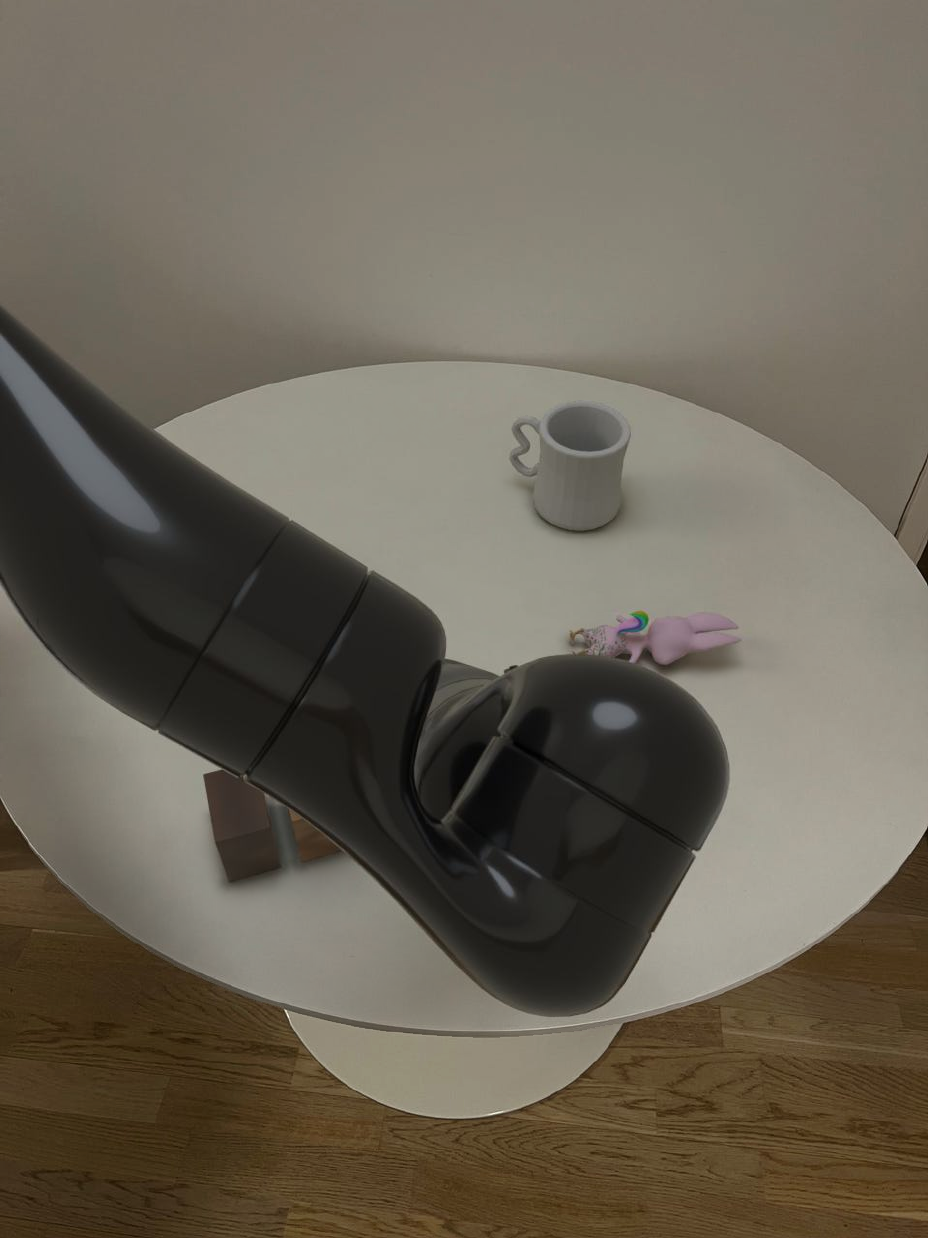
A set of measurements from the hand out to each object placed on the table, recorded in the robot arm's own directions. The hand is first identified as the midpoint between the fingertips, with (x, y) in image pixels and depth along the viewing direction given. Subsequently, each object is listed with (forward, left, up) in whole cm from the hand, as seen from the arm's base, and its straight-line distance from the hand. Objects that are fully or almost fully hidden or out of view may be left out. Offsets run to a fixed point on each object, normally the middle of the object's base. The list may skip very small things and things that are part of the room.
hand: (395, 705), depth 62 cm
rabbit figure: (+27, +13, -20) cm, 36 cm away
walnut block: (-11, +5, -20) cm, 23 cm away
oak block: (-6, +5, -20) cm, 21 cm away
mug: (+27, +35, -20) cm, 49 cm away
